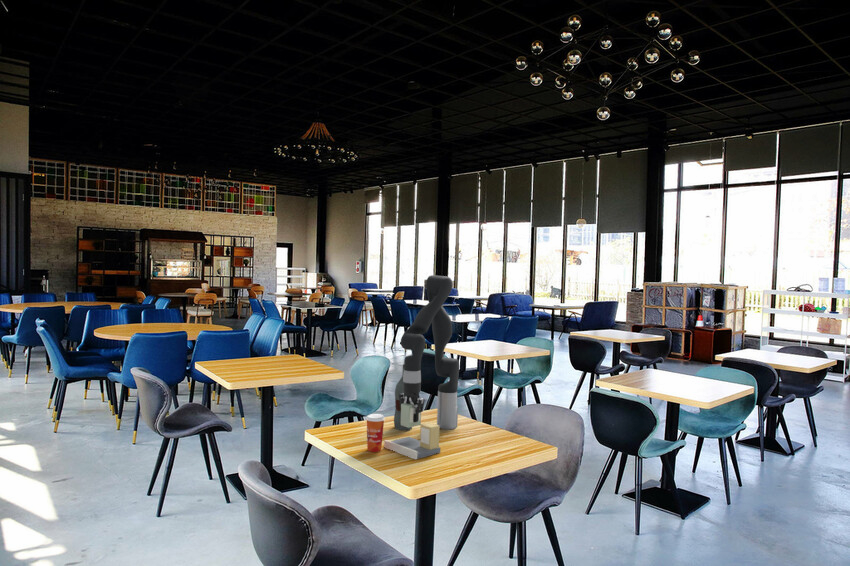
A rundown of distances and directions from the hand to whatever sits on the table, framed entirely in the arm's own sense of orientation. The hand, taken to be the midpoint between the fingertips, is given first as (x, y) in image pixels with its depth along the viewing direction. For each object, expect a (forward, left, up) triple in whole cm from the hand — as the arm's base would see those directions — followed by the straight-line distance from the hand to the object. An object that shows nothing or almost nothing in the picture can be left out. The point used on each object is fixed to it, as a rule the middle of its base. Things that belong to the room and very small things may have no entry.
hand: (410, 420), depth 228 cm
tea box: (0, 0, -2) cm, 2 cm away
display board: (+3, +5, -11) cm, 12 cm away
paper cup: (+16, -4, -11) cm, 20 cm away
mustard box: (0, +11, -9) cm, 14 cm away
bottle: (-15, -21, -11) cm, 28 cm away
